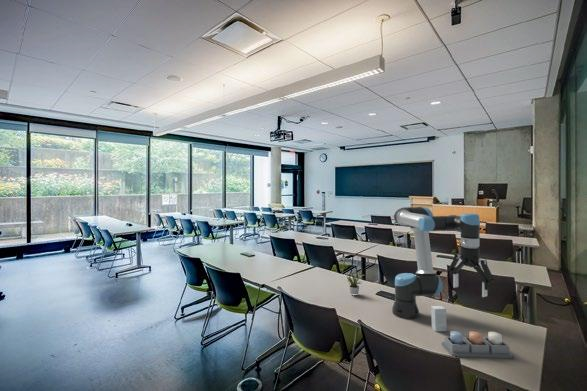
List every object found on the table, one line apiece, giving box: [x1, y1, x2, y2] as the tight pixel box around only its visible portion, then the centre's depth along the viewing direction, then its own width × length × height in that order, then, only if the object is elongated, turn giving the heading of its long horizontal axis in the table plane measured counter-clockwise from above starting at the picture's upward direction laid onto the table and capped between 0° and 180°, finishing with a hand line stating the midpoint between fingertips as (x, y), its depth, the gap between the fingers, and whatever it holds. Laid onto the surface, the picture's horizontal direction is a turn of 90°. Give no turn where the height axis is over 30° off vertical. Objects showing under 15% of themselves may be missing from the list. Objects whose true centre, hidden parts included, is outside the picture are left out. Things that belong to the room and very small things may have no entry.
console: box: [441, 336, 514, 359], centre depth 131 cm, size 10×26×4 cm, turn 86°
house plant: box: [346, 272, 364, 295], centre depth 205 cm, size 14×14×16 cm
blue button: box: [449, 330, 464, 344], centre depth 132 cm, size 5×5×4 cm
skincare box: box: [430, 305, 447, 333], centre depth 151 cm, size 6×4×12 cm
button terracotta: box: [468, 330, 483, 345], centre depth 131 cm, size 5×5×4 cm
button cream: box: [487, 331, 503, 345], centre depth 130 cm, size 5×5×4 cm
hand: (469, 291), depth 134 cm, fingers open, 13 cm apart
